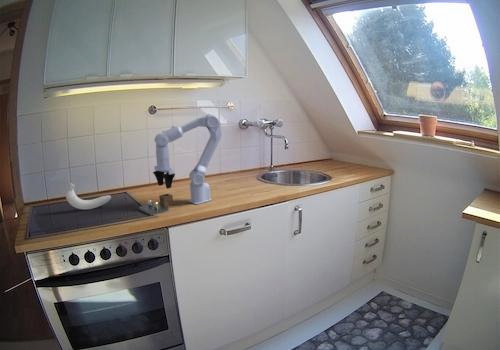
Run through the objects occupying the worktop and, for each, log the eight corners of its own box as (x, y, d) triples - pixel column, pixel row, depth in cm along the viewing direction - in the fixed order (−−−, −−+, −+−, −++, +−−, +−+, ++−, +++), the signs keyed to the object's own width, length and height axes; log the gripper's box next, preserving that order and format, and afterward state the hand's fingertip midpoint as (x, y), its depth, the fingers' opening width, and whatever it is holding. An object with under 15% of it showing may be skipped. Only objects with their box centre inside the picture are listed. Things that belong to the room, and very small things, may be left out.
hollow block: (168, 203, 163) (167, 193, 162) (173, 204, 160) (172, 195, 159) (160, 205, 160) (159, 195, 159) (164, 207, 157) (163, 197, 155)
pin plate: (156, 205, 160) (155, 196, 159) (168, 210, 152) (167, 201, 151) (138, 209, 154) (137, 200, 153) (150, 215, 146) (149, 206, 145)
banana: (112, 206, 160) (108, 177, 157) (69, 214, 151) (64, 184, 147) (110, 203, 164) (107, 175, 161) (68, 211, 155) (63, 181, 151)
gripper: (147, 158, 157) (150, 185, 160) (162, 162, 147) (164, 191, 150) (161, 156, 162) (163, 182, 165) (176, 160, 151) (178, 188, 154)
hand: (164, 186), depth 157 cm, fingers open, 7 cm apart
